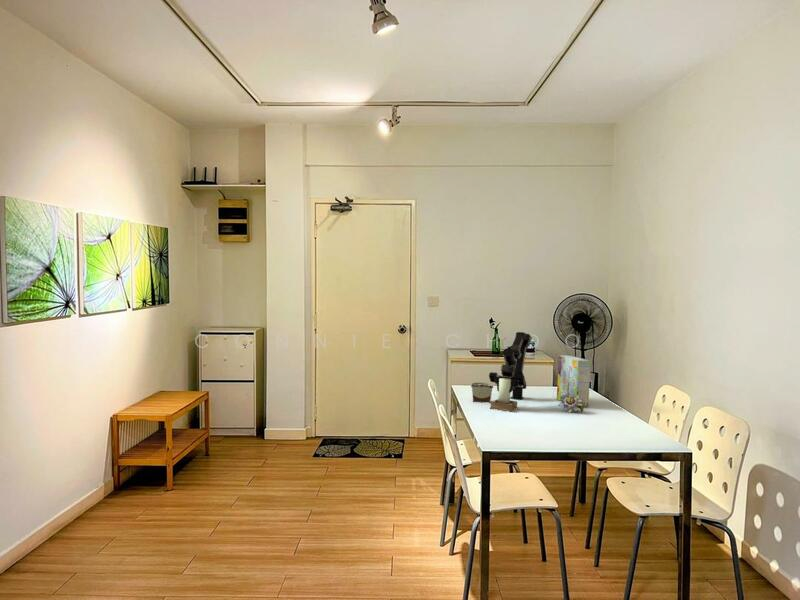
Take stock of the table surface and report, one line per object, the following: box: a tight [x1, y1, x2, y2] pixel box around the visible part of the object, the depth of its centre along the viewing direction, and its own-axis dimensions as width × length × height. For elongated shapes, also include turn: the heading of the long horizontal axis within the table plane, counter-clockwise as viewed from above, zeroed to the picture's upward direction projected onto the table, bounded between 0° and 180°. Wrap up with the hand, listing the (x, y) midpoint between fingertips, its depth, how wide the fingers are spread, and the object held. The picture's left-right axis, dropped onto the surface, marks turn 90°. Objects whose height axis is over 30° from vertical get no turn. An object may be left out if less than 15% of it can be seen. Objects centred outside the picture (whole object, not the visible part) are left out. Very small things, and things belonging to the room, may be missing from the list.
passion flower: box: [558, 392, 585, 414], centre depth 303 cm, size 11×11×12 cm
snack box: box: [556, 354, 592, 408], centre depth 323 cm, size 22×9×26 cm, turn 14°
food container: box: [470, 382, 494, 403], centre depth 320 cm, size 12×6×10 cm, turn 84°
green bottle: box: [497, 378, 511, 404], centre depth 303 cm, size 6×6×13 cm
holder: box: [489, 398, 518, 413], centre depth 304 cm, size 11×11×4 cm
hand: (503, 391), depth 302 cm, fingers closed on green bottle, 6 cm apart
